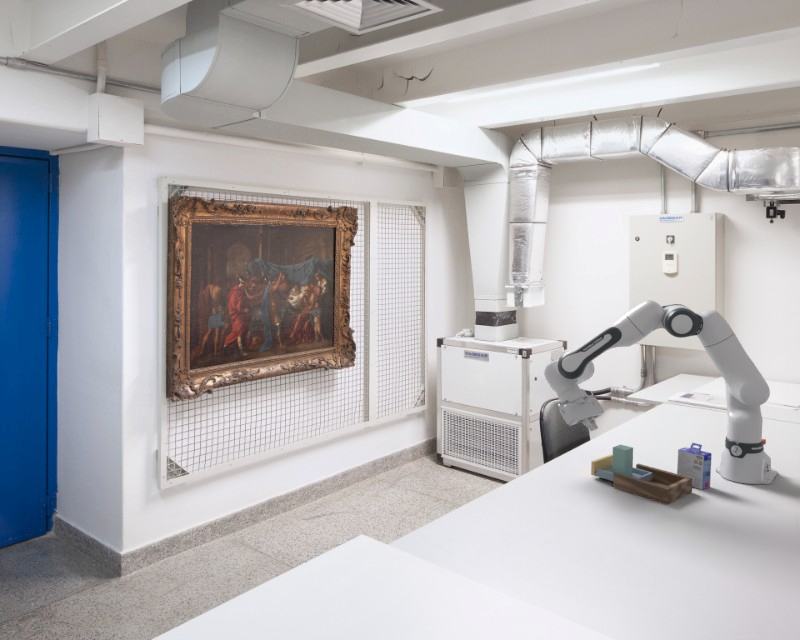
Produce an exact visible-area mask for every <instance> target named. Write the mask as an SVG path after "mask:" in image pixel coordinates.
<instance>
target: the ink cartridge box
mask: <svg viewBox="0 0 800 640" xmlns="http://www.w3.org/2000/svg"><path fill="white" fill-rule="evenodd" d="M694 446H697V447H698V448H697V447H694ZM702 448H703V445H702V444H699V443H696V442H692V443H691V444H690V447H687V446H684V447H682V448H679V449H678V450H677V463H676V464H677V466H676V467H677V468H676V474H679V475H683V476H686V477H690V478H692V488H696V489H700V490H704V489H708V488H710V487H711V476H712V475H711V474H712V473H711V471H712V470H711V469H712V452H708V451H704V450H702Z"/></svg>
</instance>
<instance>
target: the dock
mask: <svg viewBox="0 0 800 640" xmlns="http://www.w3.org/2000/svg"><path fill="white" fill-rule="evenodd" d="M635 468H638V469H641V470H645V471H648V472H652V473H653V480H651V481H649V482H647V481H643V480H640V479H637V478H633V477H630V476H626V475H623V474H619V473H614V476H613V481H612V482H613V483H612V486H613V488H614V489H617V490H620V491H624V492H626V493H630V494H633V495H636V496H640V497H643V498H646V499H649V500H652V501H656V502H660V503H662V504H665V505H669V504H671V503H673V502H675V501H677V500H680V499H682V498H684V497H686V496H687V495H689V494H691V493H693V487H692V478H690V477H686V476H683V475H679V474H677V473H675V472H672V471H667V470H663V469H660V468H656V467H652V466H649V465H644V464H641V463H637V464H635Z"/></svg>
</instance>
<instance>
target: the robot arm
mask: <svg viewBox="0 0 800 640" xmlns="http://www.w3.org/2000/svg"><path fill="white" fill-rule="evenodd" d="M658 329H663V330H664V329H665V331H666V332H667V333H668V334H670V335H671V336H673V337H675V338H683V339H684V338H688V337H694V336H696V337H697V338H698V339H699V341H700V342H701V344H702V346H703V348H704V350H705V351H706V354H707V355H708V356H709V358H710V359H711V361H712V363H713V365H714V366H715V368H716V370H717V371H718V372H719V374H720V375H721V377H722V378H723V380H724V384H725V401H726V411H727V423H726V425H727V427H726V429H727V430H726V437H725V441H724V446H725V448H723V449H722V450H721V453H720V457H719V458H720V461H719V466H717V467H715V472H717V473H718V474H720V476H721V477H722V478H724V479H726V480H728V481H732V482H736V483H740V484H751V485H753V484H755V485H756V484H757V485H758V484H763V485H771V484H772V482H773V481H774V480H775V478H776V477H777V476H778V474H779V471H778V470H777V469H775V468H772V459H771V458H772V457H770V456H769V455H768V454H767V452H766V451H764V450H765V448H764V446H765V445H766V443H767V440H766V438H762V437H763V416H762V410H761V405H764V404H765V403H766V402H767V401H768V400H769V398H770V396H771V395H770V394H771V392H770V391H771V390H770V387H769V384H768V383H767V381H766V379H765V377H764V376H763V375H762V373H761V371H759V369H758V367H757V366H756V365H755V363H754V362H753V360H752V359H751V358H750V356H749V355H748V353H747V352H746V350H745V349H744V347H743V345H742V344H741V342H740V340H739V339H738V337H737V335H736V334H735V332H734V330H733V328H732V327H731V326H730V324H729V323H728V322H727V320H726V319H725V317H723V315H722V314H721V313H720V312H719V311H717V310H715V309H708V310H704V311H702V312H700V313H699V312H698V313H696V312H694V310H692V309H691V308H690V307H688V306H686V305H684V304H680V303H679V304H678V303H676V304H675V303H674V304H668V305H663V306H661V304H659V303H658V302H656V301H654V300H645V301H643V302H641V303H639V304H637V305H636V306H634V307H632V308H631V309H629V310H628V311H627V312H625V313H624V314H623V315H622V316H620V318H618V319H617V320H616V321H614V322H613V323H612V324H610V326H609V327H607V328H606V329H604V330H603V331H602V332H601V333H599V334H597V335H596V336H595V337H593V338H592V339H590V340H588V341H587V342H586V343H584V344H583V345H581V346H580V347H578V348H576V349H573V350H570V351H567V352H564V353H563V354H562V355H560V357H559V358H558V360H557V359H554V360H553V361H551V362H549V363H548V364H547V365H546V367H545V369H544V371H543V372H544V373H543V375H544V377H545V380H546V381H547V384H549V387H550V388H551V390H552V391H553V392H555V393H556V395H557V397H558V398H557V399H559V401H560V402H558V409H559V412H560V414H561V415H560V416H562V418H563V420H564V422H565V424H566V425H568V426H570V427H571V426H573V425H577V424H580V423H582V424H583V426H584V427H587V429H588V430H589V432H592V431H596V430H598V429H599V426H598V425H597V421H596V419H598V418H600V417H602V416H603V415H604V413H605V409H604V407H603V406H602V404H601V403H600V402H599V400H598V399H597V398H596V397H595V396H594V393H593V392H592V391H591V390H587V389H583V388H581V387H580V386H579V385H580V384H582V383H584V382H586V381H588V380H590V379H591V378H592V377H593V375H594V373H595V365H594V362H593V361H594V360H595V359H597V358H599V356H601V355H603V354H604V353H606V352H607V351H609V350H611V349H615V348H625V347H626V348H627V347H631V346H633V345H635V344H637V343H639V342H640V341H642V340H644V339H645V338H646V337H647V336H648V335H649V334H651V333H652V332H654V331H656V330H658Z"/></svg>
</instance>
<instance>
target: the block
mask: <svg viewBox="0 0 800 640" xmlns="http://www.w3.org/2000/svg"><path fill="white" fill-rule="evenodd" d="M612 455H613V461H612V473H619V474H623V475H626V476H631V475H632V473H633V467H634V464H633V463H634V447H632V446H628V445H623V444H618V445H615V446H613V447H612Z"/></svg>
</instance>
